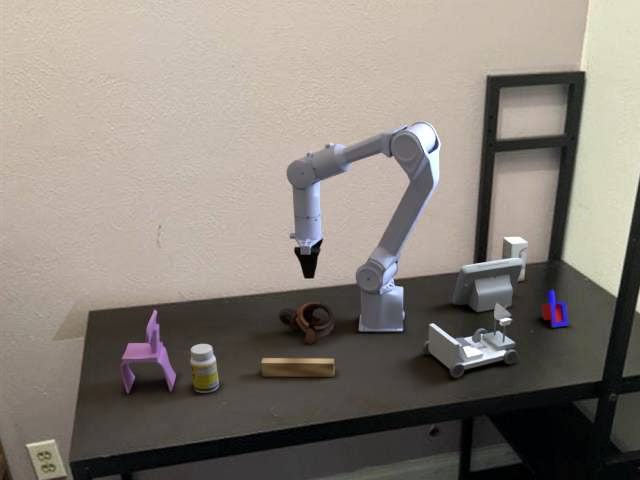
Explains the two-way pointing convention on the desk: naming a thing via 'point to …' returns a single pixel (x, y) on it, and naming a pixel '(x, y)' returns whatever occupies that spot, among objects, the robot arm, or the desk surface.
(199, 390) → the supplement bottle
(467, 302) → the digital clock
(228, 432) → the desk surface
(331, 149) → the robot arm
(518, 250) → the white tall block
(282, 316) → the pottery mug
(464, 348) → the toy cart
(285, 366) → the bar
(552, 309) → the toy building block
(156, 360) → the chair
